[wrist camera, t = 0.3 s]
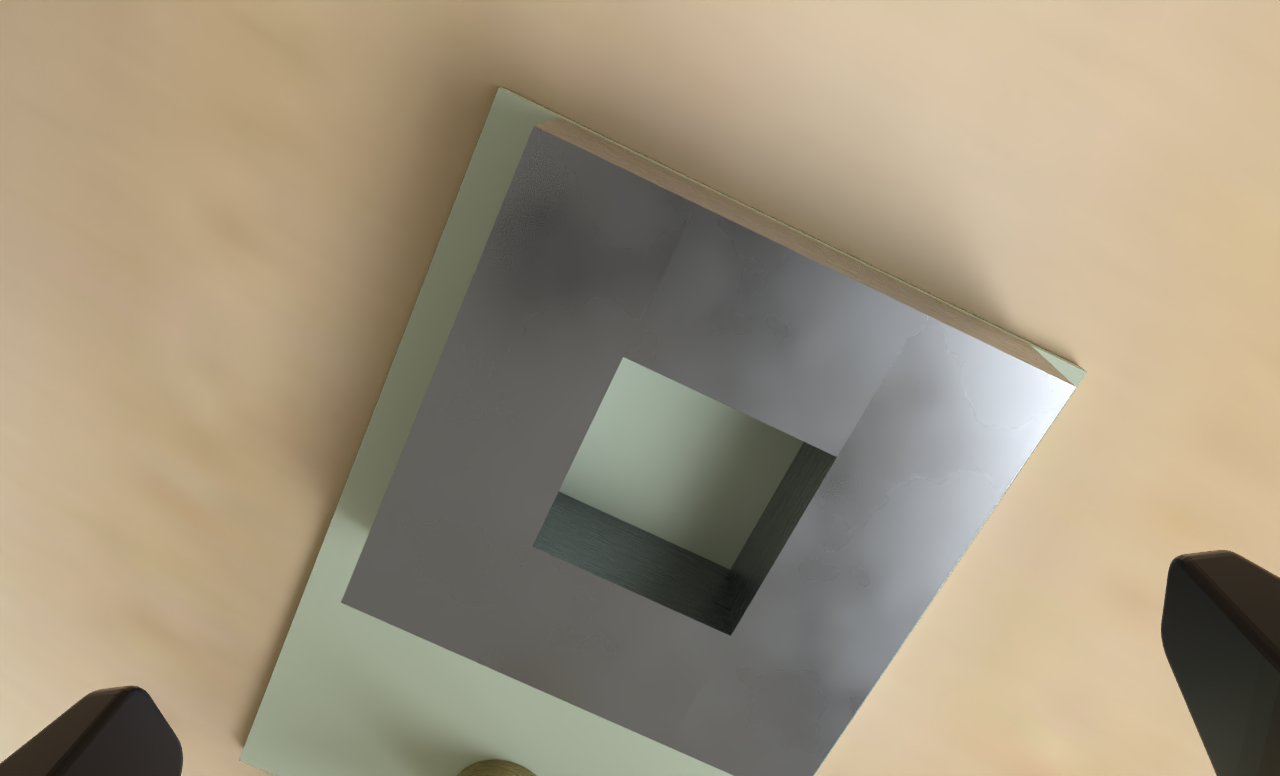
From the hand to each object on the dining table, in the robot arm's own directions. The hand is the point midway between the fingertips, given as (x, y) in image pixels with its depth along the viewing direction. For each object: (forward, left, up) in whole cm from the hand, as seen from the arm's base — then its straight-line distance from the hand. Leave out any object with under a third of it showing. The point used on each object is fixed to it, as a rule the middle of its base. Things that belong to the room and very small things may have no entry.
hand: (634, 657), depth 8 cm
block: (-4, -2, -15) cm, 15 cm away
